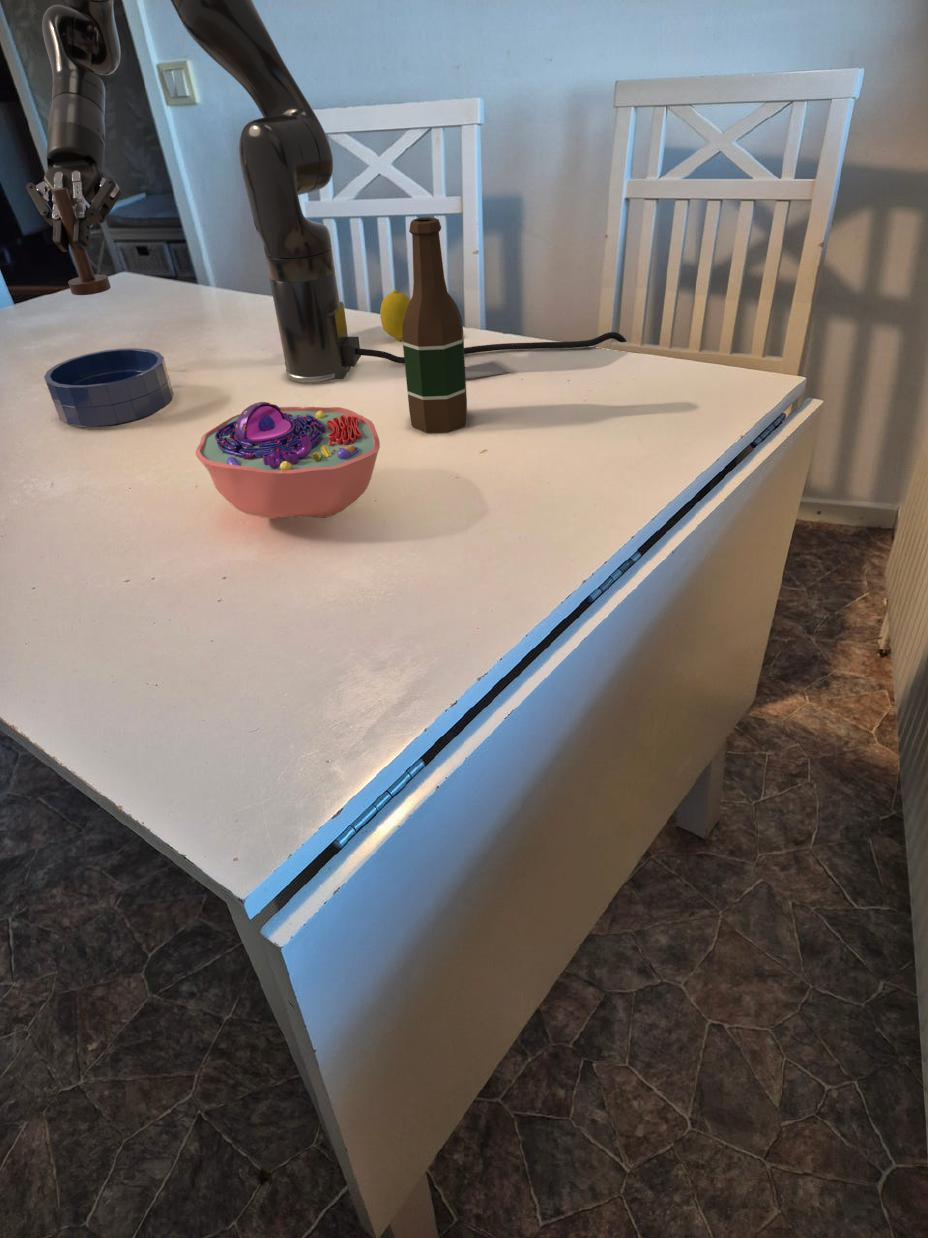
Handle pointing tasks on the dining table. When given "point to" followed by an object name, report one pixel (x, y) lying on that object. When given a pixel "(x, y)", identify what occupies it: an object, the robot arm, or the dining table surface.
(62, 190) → the wooden plunger stick
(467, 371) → the cleaver
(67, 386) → the blue round bowl
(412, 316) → the beer bottle
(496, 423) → the dining table surface
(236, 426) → the cell model
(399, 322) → the lemon
